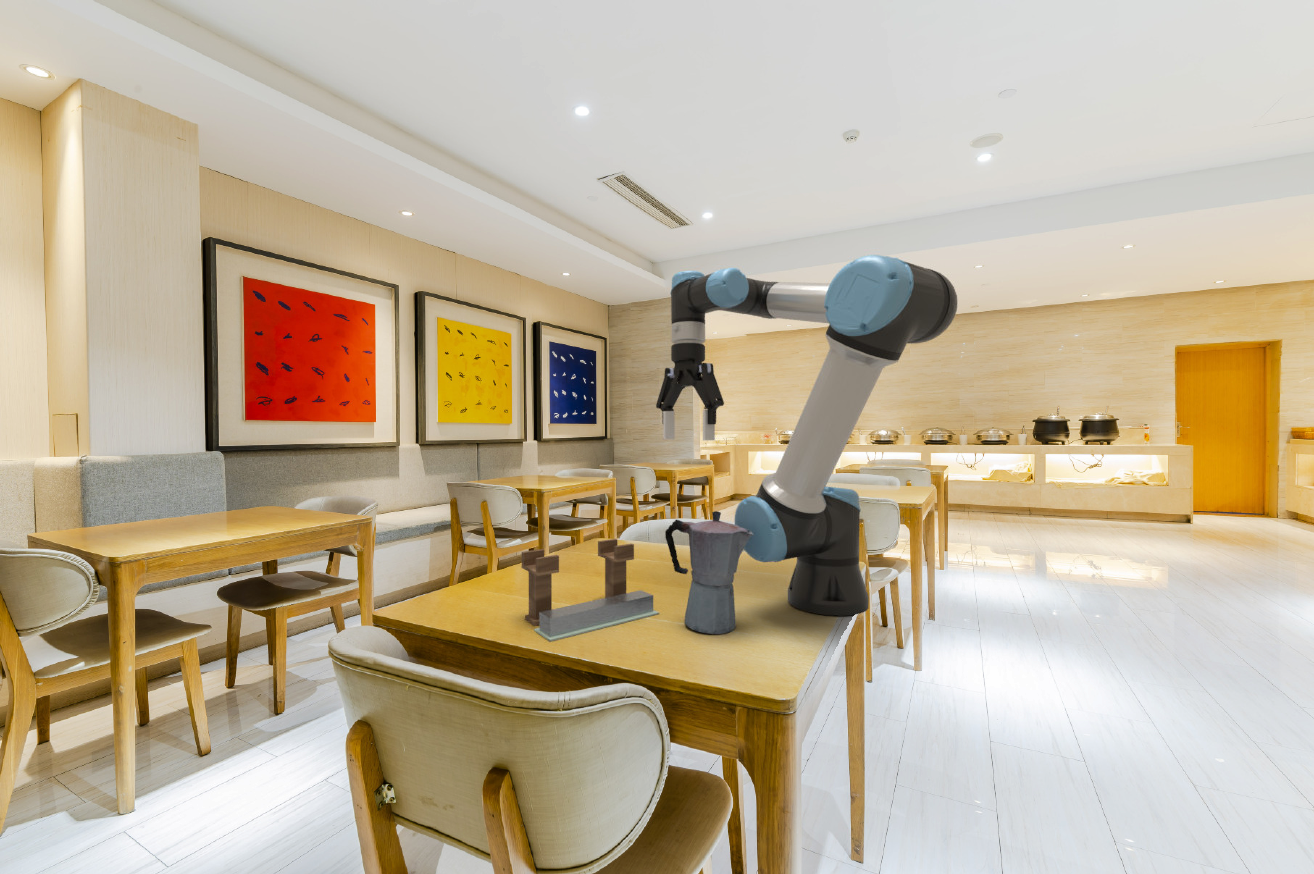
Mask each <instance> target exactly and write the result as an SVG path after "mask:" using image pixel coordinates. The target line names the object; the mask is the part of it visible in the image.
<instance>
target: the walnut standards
mask: <svg viewBox="0 0 1314 874" xmlns="http://www.w3.org/2000/svg"><path fill="white" fill-rule="evenodd" d="M597 557H600V558H603V559H604V598H607V597H612V596H616V595H621V594H626V593H627V561H628V562H629V561H633V560H635V544H634V543H626V544H620V545H618V539H617V538H611V539H605V540H598V541H597ZM521 569H523V570H525V571H527V572H528V614H525V615H524V620H525V621H526V622H528V623H529V624H531V625H532V626H534V627H537V626H539V612H543V611H548V610H552V608H553V606H552V604H553V603H552V596H553V595H552V593H553V592H552V589H553V588H552V575H553V574H556V573H557V574H558V573H560V555H558V554H554V555H546V556H545V550H544V549H543V548H541V549H533V550H527V551H521Z"/></svg>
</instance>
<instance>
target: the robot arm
mask: <svg viewBox="0 0 1314 874" xmlns="http://www.w3.org/2000/svg"><path fill="white" fill-rule="evenodd" d="M670 303H671V305H670V306H671V307H670V313H671V314H670V317H671V318H670V319H671V321H670V322H671V339H670V340H671V342H672V345H671V346H670V348H671V349H670V351H671V353H670V355H671V356H670V359H671V362H673V364H674V368H672V367H666V368H665V369H664V376H663V377H664V378H663V381H662V385H661V386H660V387H661V388H660V390H659V394H658V398H657V402H656V404H655V407H656V408H657V409H660V410H661V413H662V421H661V423H662V429H663V430H662V431H663V432H662V435H663V436H662V439H663V440H675V410H674V407H675V405H676V403H677V401H678V399H679V397H680V395H681V393H682V391H683V389H685V388H686V387H687V388H688V387H693V389H694V390H695V392H696V393H697V395H698V396H699V398H700V401H701V402H702V403H703V405H704V407H703V409H702V441H715V440H716V439H715V437H716V435H715V427H716V426H715V425H716V424H717V410H718V408H719V407H723V406H724V405H725V401H724V398H723V396H722V395H723V394H722V392H721V389H720V387H719V385H718V381H717V378H716V375H715V373H714V372H715V370H714V365H713V363H709V362H708V363H707V362H705V360H706V346H705V344H704V343H705V342H706V314H709V313H712V312H717V311H724V312H730V313H734V314H735V313H736V314H742V315H747V316H748V315H750V316H753V317H759V318H762V319H768V320H769V319H771V320H772V319H774V320H775V319H783V320H793V321H799V322H800V321H801V322H809V323H810V322H811V323H821V324H828V327H827V329H826V332H825V338H826V341H827V343H828V345H829V349H828V352H827V353H826V356H825V358H824V360H823V363H822V365H821V368H820V370H819V373H818V374H817V377H816V379H815V382H814V384H813V386H812V389H811V390H810V394H809V395H808V398H807V400H806V402H805V405H804V407H803V410H802V412H801V414H800V416H799V418H798V420H797V423H796V425H795V426H794V427H795V428H794V430H793V432H792V435H791V436H790V439H789V441H788V444H787V446H786V448H785V451H784V453H783V454H782V455H783V456H782V458H781V460H780V462H779V464H778V467H777V469H776V471H775V472H773V473H770V474H767V475H766V476H765V477H764V478H763V479H762V481H761V484H760V486H759V489H758V491H757V493H756V494H755V495H750V496H747V497H746V498H744V499H742V500H741V501H740V502H739V503H738V505H737V506H736V509H735V512H734V513H735V514H734V525H738V526H739V527H742V528H745V529H748V530H749V531H751V532H752V534H753V536H751V537H750V538H749V540H748V542H747V543H746V545H745V547H744V549H743V551H745V553H747V555H748V556H750V557H751V558H752V559H753V560H755V561H757V562H762V563H772V562H774V563H778V562H781V561H785V560H790V559H795V558H796V563H795V566H794V569H793V572H792V574H791V578H790V582H789V584H788V588H787V602H788V604H790V606H792V607H794V608H796V609H798V610H801V611H804V612H809V613H813V614H817V615H824V616H834V615H838V616H840V617H841V616H842V617H843V616H846V617H847V616H854V615H859V614H863V613H865V612H867V611H868V610H869V605H870V604H869V600H870V599H869V593H868V591H867V588H866V584H865V580H864V578H863V574H862V572H861V569H860V568H861V567H860V517H861V515H860V513H861V508H860V496H859V494H858V492H857V491H856V490H854V489H852V488H843V487H835V486H834V487H833V486H827V484H828V482H829V480H830V478H831V476H832V475H833V472H834V470H835V469H836V466H837V463H838V462H839V460H840V458H841V456H842V454H843V451H844V449H845V447H846V445H847V443H848V442H849V439H850V437H851V435H852V433H853V432H854V429H855V427H856V424H857V423H858V420H859V419H860V417H861V414H862V413H863V410H864V409H865V406H866V404H867V402H868V400H869V398H870V396H871V395H872V392H873V390H874V388H875V386H876V384H877V382H878V379H879V377H880V375H881V373H882V371H883V369H885V367H888V366H890V365H894V364H896V363H898V362H899V361H900V358H901V357H902V354H903V352H904V350H905V348H906V346H907V344H923V343H927V342H929V341H932V340H934V339H936V338H937V337H939V336H941V335H942V334H943V333H944V332H945V331H946V330H947V329H948V328H949V327H950V326H951V325H952V323H953V321H954V319H955V317H956V314H957V310H958V295H957V292H956V289H955V286H954V284H952V282H951V281H950V279H949V278H948V277H946V276H945V275H944V274H942V273H941V272H939V271H936V270H933V269H931V268H927V267H923V266H921V265H917V264H913V263H910V262H907V261H904V260H902V259H899V258H898V257H891V256H889V255H887V256H885V255H880V254H869V255H863V256H860V257H858V258H856V259H854V260H853V261H851V262H849V263H847V264H846V265H844V266H843V267H841V269H840V270H838V272H837V273H836V274H835V276H834V277H833V279H832V280H831V282H830V283H829V282H824V283H823V282H795V281H794V282H791V281H789V282H787V281H765V280H759V279H758V280H757V279H753V278H749V277H747V276H746V274H745V273H743V272H742V271H741V270H740V269H739V268H737V267H728V268H720V269H718V270H716V271H714V272H712V273H709V274H706V275H705V274H704V273H703V272H701V271H698V270H684V271H679V272H676V273H674V275H673V276H672V278H671V290H670ZM838 616H837V617H838Z"/></svg>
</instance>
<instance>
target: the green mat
mask: <svg viewBox="0 0 1314 874" xmlns="http://www.w3.org/2000/svg"><path fill="white" fill-rule="evenodd" d="M656 615H660V611H657V610H654V609H653V612H649V613H645V614H641V615H637V616H633V617H629V618H625V619H621V620H617V621H613V622H609V623H605V624H601V625H597V626H593V627H589V628H585V629H581V630H577V631H573V632H569V633H565V634H561V635H557V636H553V637H549V636H548V635H546V634H545V633H543V632H542V631H540V630H539V627H537V628H534V629H533V631H534V632H535V633H537V634H538V635H540V636H541V637H542V638H544V639H545V640H547V641H548V642H553V641H559V640H562V639H565V638H569V637H574V636H578V635H581V634H585V633H589V632H594V631H597V630H603V629H605V628H610V627H614V626H617V625H621V624H625V623H629V622H632V621H637V620H641V619H645V618H649V617H652V616H656Z"/></svg>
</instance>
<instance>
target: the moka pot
mask: <svg viewBox="0 0 1314 874" xmlns="http://www.w3.org/2000/svg"><path fill="white" fill-rule="evenodd" d="M711 513H712V515H711V516H712V520H705V521H698V522H693V521H683V520H679V519H674V521H672V524H670V525H669V526H668V528H667V529H666V530H665V534H664V535H665V541H666V543H667V546H668V551H669V553H670V554H669V555H670V558H671V563H672V566H673V570H674V572H675V573H679V574H682V575H687V574H688V572H689V569H688V568H686V567H685V568H684V567H681V566H680V561H679V560H678V554H677V553H678V552H677V549H676V545H675V541H674V537H673V533H674V532H675V531H679V532H680V533H684V534H688V542H689V545H688V546H689V554H690V555H689V556H690V566H691V569H692V570H691V571H690V573H691V579H692V580H691V583H690V588H689V592H688V598H687V604H686V609H685V613H684V621H683V622H684V625H685V626H687V627H688V628H689V629H690V630H693V631H695V632H697V633H702V634H711V635H722V634H723V635H724V634H727V633H728V634H729V633H730V632H732V631H734V630H735V628H736V625H737V624H736V622H737V620H736V608H735V590H734V585H733V583H734V580H735V574H736V573H737V572H738V571H737V570H738V564H739V559H740V557H741V555H742V553H743V552H744V547H745V545H746V543H747V542H748V540H749V538H750V537H751V536H753V534H752V532H751V531H749V530H748V529H745V528H742V527H739V526H738V525H735V523H734V524H733V523H729V522H725V521H722V520H720V519H721V515H722V512H721V511H716V510H715V511H712V512H711Z"/></svg>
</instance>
